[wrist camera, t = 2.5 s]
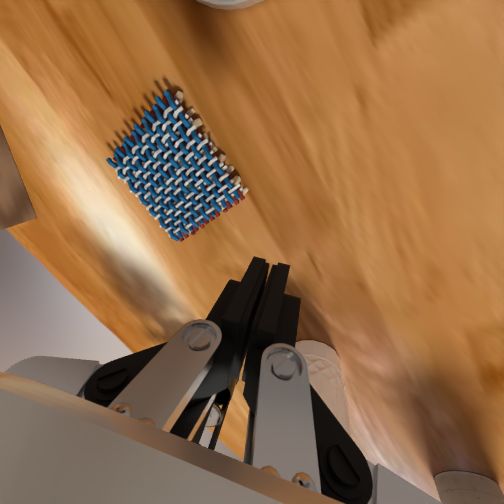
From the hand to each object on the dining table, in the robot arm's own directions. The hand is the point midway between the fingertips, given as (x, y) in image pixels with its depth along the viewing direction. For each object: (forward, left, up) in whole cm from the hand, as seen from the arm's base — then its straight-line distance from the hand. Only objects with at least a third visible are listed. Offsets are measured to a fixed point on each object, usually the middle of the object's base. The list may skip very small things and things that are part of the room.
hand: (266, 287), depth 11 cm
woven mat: (-1, -11, -13) cm, 17 cm away
